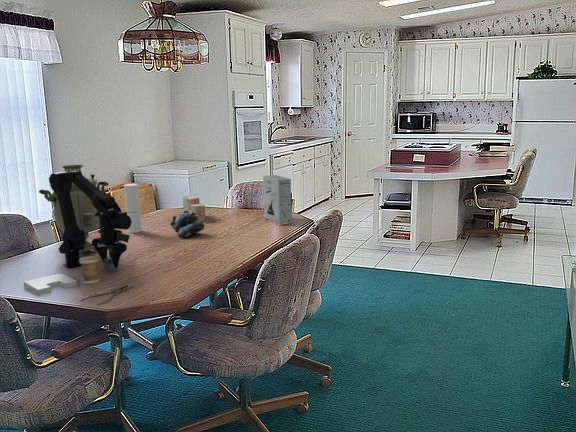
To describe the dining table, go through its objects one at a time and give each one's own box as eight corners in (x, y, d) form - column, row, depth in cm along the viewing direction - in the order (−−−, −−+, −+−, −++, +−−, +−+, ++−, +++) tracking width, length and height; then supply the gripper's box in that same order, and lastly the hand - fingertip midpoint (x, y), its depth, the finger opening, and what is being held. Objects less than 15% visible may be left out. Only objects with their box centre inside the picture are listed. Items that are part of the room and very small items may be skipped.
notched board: (24, 286, 212) (23, 281, 212) (61, 278, 221) (60, 273, 221) (38, 295, 202) (38, 289, 202) (76, 285, 212) (76, 280, 211)
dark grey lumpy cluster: (179, 239, 280) (168, 214, 281) (177, 244, 291) (166, 219, 293) (207, 228, 285) (195, 203, 286) (204, 232, 296) (193, 208, 298)
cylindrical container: (143, 229, 305) (139, 183, 300) (138, 232, 298) (135, 185, 293) (130, 229, 306) (126, 183, 301) (125, 232, 299) (121, 185, 294)
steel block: (105, 271, 229) (103, 258, 228) (113, 269, 232) (112, 256, 231) (109, 273, 227) (108, 259, 226) (117, 271, 229) (116, 257, 228)
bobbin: (78, 281, 216) (75, 259, 215) (95, 277, 221) (93, 255, 219) (86, 285, 211) (83, 262, 210) (103, 281, 216) (101, 258, 214)
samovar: (49, 265, 240) (38, 171, 232) (44, 252, 262) (34, 166, 255) (121, 255, 253) (113, 166, 245) (110, 243, 276) (103, 161, 268)
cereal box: (264, 218, 327) (262, 175, 322) (276, 217, 330) (274, 174, 325) (279, 225, 308) (278, 179, 303) (292, 223, 311) (291, 178, 306)
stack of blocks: (205, 221, 324) (204, 200, 322) (195, 222, 321) (194, 201, 319) (193, 215, 343) (192, 195, 340) (183, 216, 340) (182, 196, 338)
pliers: (76, 301, 193) (111, 283, 212) (77, 304, 193) (112, 285, 212) (101, 304, 190) (134, 285, 209) (101, 306, 190) (134, 287, 209)
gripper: (137, 227, 225) (140, 265, 228) (114, 221, 238) (117, 257, 241) (111, 232, 217) (114, 271, 220) (89, 225, 230) (93, 262, 233)
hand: (110, 265), depth 229 cm, fingers open, 9 cm apart
